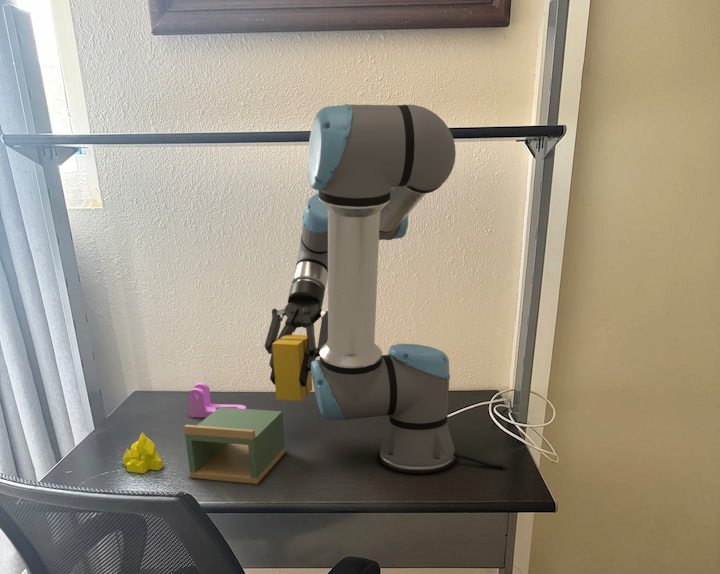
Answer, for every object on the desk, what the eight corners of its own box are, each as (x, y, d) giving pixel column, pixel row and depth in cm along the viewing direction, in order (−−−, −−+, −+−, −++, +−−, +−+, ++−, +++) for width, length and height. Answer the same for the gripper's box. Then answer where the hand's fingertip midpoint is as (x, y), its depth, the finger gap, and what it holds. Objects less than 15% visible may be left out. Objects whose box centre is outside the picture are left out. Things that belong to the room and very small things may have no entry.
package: (312, 389, 154) (310, 335, 149) (301, 401, 147) (297, 344, 142) (288, 388, 155) (285, 334, 150) (275, 399, 148) (271, 343, 143)
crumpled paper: (134, 459, 146) (128, 424, 143) (168, 463, 144) (163, 427, 141) (118, 470, 141) (111, 434, 138) (152, 474, 139) (147, 438, 136)
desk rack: (285, 452, 148) (282, 403, 144) (257, 484, 134) (252, 431, 130) (224, 447, 152) (219, 399, 147) (190, 477, 138) (183, 426, 133)
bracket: (190, 417, 169) (187, 389, 166) (197, 409, 174) (193, 382, 171) (243, 417, 168) (240, 389, 165) (248, 409, 173) (246, 382, 170)
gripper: (352, 300, 155) (334, 393, 147) (273, 297, 159) (252, 388, 152) (345, 279, 148) (326, 376, 140) (262, 277, 152) (240, 371, 145)
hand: (287, 382), depth 146 cm, fingers closed on package, 6 cm apart
